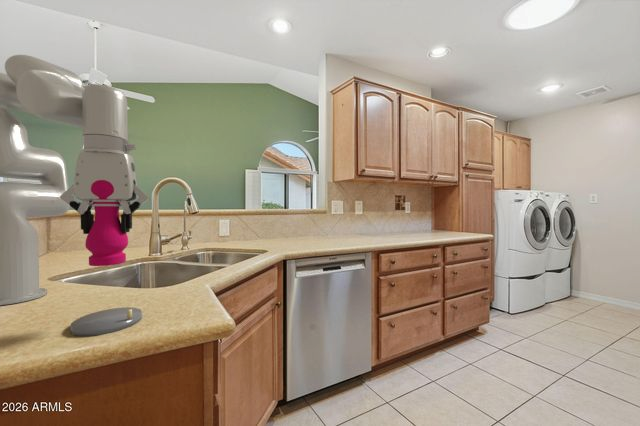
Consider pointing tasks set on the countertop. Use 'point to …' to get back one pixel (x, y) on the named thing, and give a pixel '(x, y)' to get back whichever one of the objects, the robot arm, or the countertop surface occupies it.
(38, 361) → the countertop surface
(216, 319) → the countertop surface
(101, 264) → the pepper mill
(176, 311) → the countertop surface
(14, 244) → the robot arm
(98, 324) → the grey flat disc
